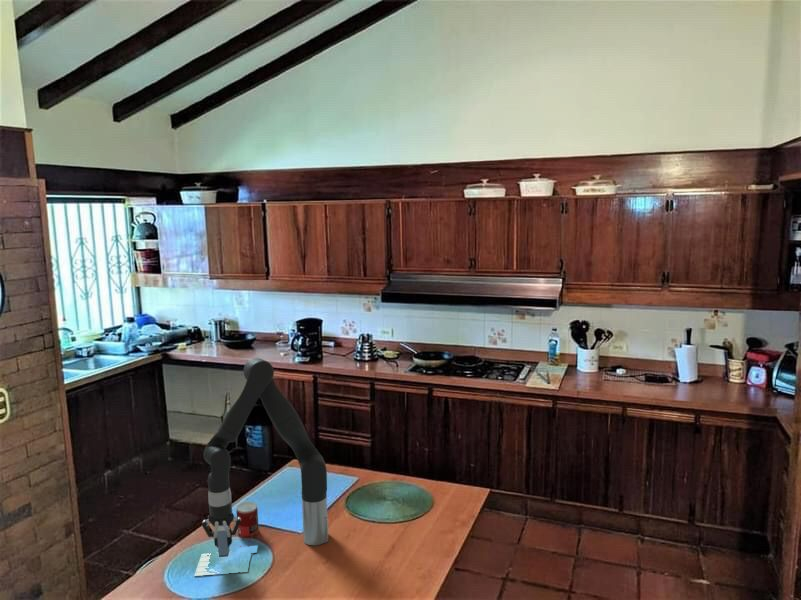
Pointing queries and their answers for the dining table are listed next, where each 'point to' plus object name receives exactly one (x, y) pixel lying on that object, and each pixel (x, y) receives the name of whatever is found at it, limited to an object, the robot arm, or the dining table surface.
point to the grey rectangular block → (222, 542)
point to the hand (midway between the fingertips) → (223, 545)
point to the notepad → (204, 566)
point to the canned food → (247, 519)
